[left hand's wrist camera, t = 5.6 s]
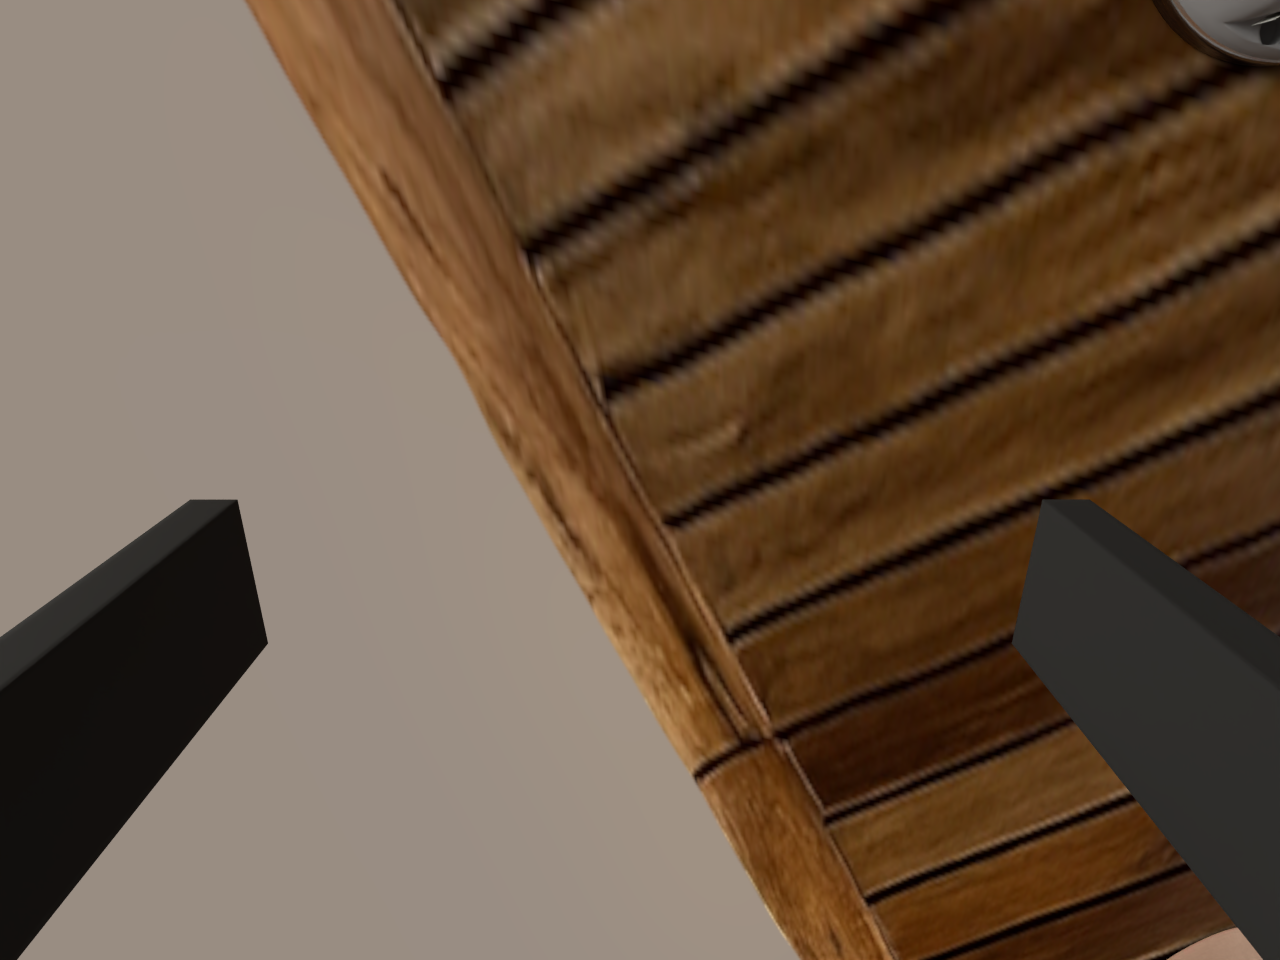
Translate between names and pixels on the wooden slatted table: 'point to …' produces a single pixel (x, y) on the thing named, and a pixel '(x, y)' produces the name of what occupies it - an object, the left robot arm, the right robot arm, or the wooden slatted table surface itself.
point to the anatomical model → (1220, 948)
